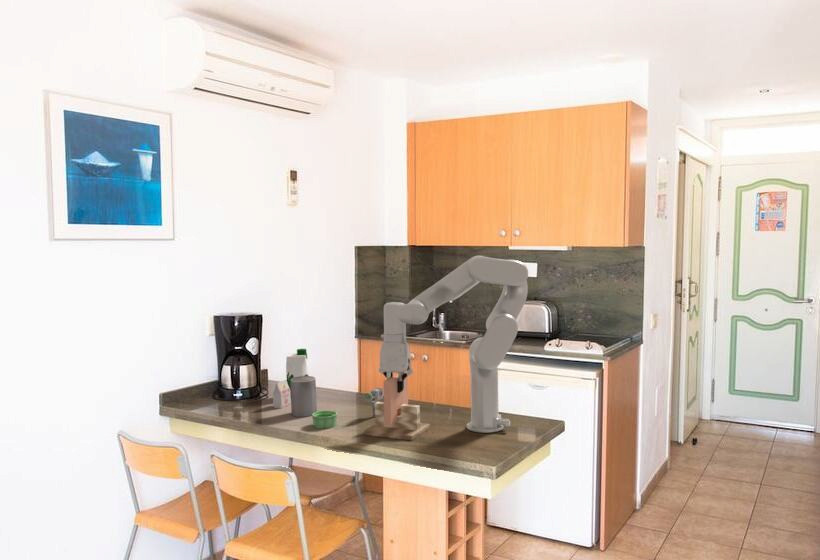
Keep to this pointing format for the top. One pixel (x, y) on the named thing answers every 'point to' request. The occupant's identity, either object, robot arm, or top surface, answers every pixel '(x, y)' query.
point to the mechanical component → (374, 397)
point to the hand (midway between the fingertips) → (396, 391)
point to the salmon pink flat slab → (394, 399)
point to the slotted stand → (398, 423)
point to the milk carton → (296, 365)
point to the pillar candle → (303, 396)
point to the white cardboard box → (281, 395)
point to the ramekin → (324, 419)
